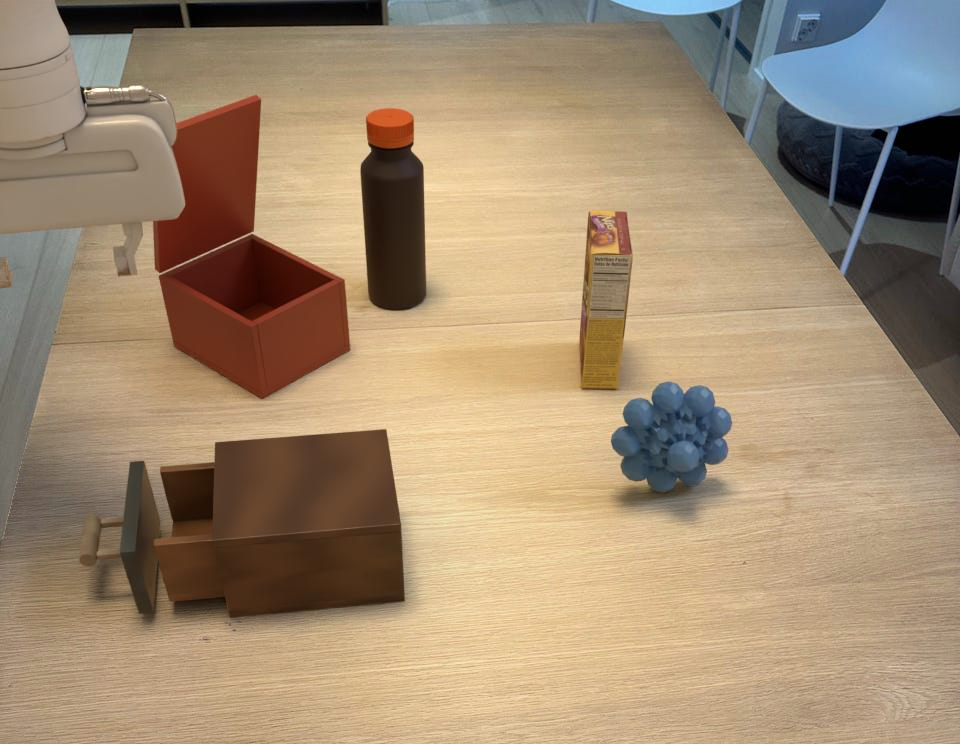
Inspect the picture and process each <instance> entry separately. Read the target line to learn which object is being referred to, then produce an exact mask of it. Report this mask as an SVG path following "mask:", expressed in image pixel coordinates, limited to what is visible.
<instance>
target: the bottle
mask: <svg viewBox="0 0 960 744" xmlns="http://www.w3.org/2000/svg"><path fill="white" fill-rule="evenodd" d="M365 125H366V126H365V127H366V140H367V145H368V147H369V148H370V153H368V155H367V156H366V157H365V158H364V159H363V161H362V162H361V163H360V170H359V174H360V188H361V203H362V214H363V215H362V218H363V219H362V220H363V231H364V234H363V236H364V247H365V249H364V250H365V263H366V277H367V279H366V280H367V294H368V297H369V299H370V301H371V302H372V303H374V304H376V305H377V306H378V307H380V308H381V307H382V308H384V309H390V310H405V309H411V308H413V307H416V306H417V305H419V304H420V303H421V302H423V301H424V300H425V298H426V296H427V262H426V260H427V259H426V258H427V256H426V218H425V217H426V216H425V215H426V214H425V209H426V208H425V172H424V163H423V162H422V161H421V159H420V158H419V157H418V156H417V155H416V154H415V153H414V152H413V151H412V148H413V146H414V144H415V142H414V140H415V118H414V115H413V114H412V113H411V112H409V111H407V110H405V109H401V108H395V107H385V108H380V109H375V110H373V111H370V112H369V113H368V114H367V115H366V116H365Z"/></svg>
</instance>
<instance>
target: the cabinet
mask: <svg viewBox="0 0 960 744" xmlns="http://www.w3.org/2000/svg"><path fill="white" fill-rule="evenodd" d="M213 461H214V496H213V532H212V542H213V546H214V551H215V555H216V560H217V564H218V569H219V573H220V577H221V582H222V586H223V591H224V595H225V597H224V599H225V603H226V609H227V612H228V616H229V617H228V618H239V617H240V618H241V617H250V616H261V615H271V614H281V613H291V612H302V611H303V612H304V611H311V610H312V611H314V610H323V609H325V610H326V609H334V608H344V607H345V608H347V607H356V606H365V605H366V606H367V605H377V604H385V603H388V604H389V603H397V602H405V601H406V597H405V595H406V594H405V577H404V576H405V574H404V557H403V555H404V554H403V535H402V522H401V515H400V509H399V503H398V496H397V489H396V482H395V475H394V470H393V462H392V455H391V450H390V444H389V436H388V430H387V428H383V429H371V430H369V429H368V430H356V431H341V432H331V433H329V432H328V433H318V434H305V435H292V436H291V435H289V436H280V437H266V438H265V437H264V438H252V439H251V438H250V439H241V440H240V439H239V440H227V441H215V442H214V459H213Z"/></svg>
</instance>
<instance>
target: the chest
mask: <svg viewBox="0 0 960 744" xmlns="http://www.w3.org/2000/svg"><path fill="white" fill-rule="evenodd" d="M158 280H159V285H160V290H161V294H162V297H163V302H164V307H165V312H166V317H167V320H168V326H169V330H170V334H171V339H172V344H173V347H175V348H176V349H178V350H179V351H181V352H183V353H185V354H186V355H188V356H190V357H191V358H193V359H194V360H196V361H198V362H200V363H201V364H203V365H204V366H207V367H208V368H210V369H212V370H213V371H215V372H216V373H218V374H220V375H221V376H224V377H225V378H227V379H228V380H230V381H231V382H233V383H235V384H236V385H238V386H240V387H241V388H244V389H245V390H247V391H248V392H250V393H252V394H254V395H255V396H257V397H259V398H260V399H265V398H266V397H268V396H270V395H272V394H274V393H275V392H278V391H279V390H281V389H283V388H284V387H286V386H288V385H290V384H291V383H293V382H296V381H297V380H299V379H301V378H303V377H304V376H306V375H308V374H310V373H311V372H313V371H315V370H316V369H319V368H320V367H322V366H324V365H326V364H328V363H329V362H331V361H332V360H335V359H336V358H338V357H340V356H342V355H344V354H345V353H347V352H349V351H351V341H350V339H351V338H350V329H349V317H348V305H347V292H346V291H347V290H346V282H345V281H346V280H345V279H344V278H342V277H341V276H338V275H336V274H334V273H332V272H330V271H328V270H326V269H324V268H322V267H320V266H319V265H316V264H314V263H312V262H310V261H308V260H306V259H304V258H302V257H300V256H298V255H296V254H294V253H292V252H290V251H288V250H286V249H284V248H282V247H280V246H278V245H276V244H274V243H271V242H269V241H268V240H266V239H265V238H262V237H260V236H258V235H255V234H254V233H249V234H247V235H245V236H243V237H241V238H238V239H236V240H234V241H232V242H229V243H227V244H225V245H223V246H220V247H218V248H216V249H214V250H211V251H209V252H207V253H205V254H203V255H200V256H198V257H196V258H194V259H191V260H189V261H187V262H185V263H182V264H180V265H178V266H176V267H174V268H171V269H169V270H167V271H165V272H162V273H160V274H159V275H158Z"/></svg>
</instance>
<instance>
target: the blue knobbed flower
mask: <svg viewBox="0 0 960 744" xmlns="http://www.w3.org/2000/svg"><path fill="white" fill-rule="evenodd" d="M650 397H651V398H650V399H651V401H650V400H648V399H646V398H643V397H638V398H633V399H630V400H629V401H628V402H627V403H626V404H625V405H624V407H623V410H622V418H623V420H624V422H625V424H626V425H623V426H619V427H617V429H616V430H615V431H614V432H613V433H612V435H611V438H610V444H611V447H612V450H613V451H614V452H615V453H616V454H617V455H619V456H620V457H622V459H621V460H620V461H621V462H620V469H621V473H622V475H623V476H624V477H625V478H627V480H629V481H632V482H635V483H637V482H642V481H645V480H646V483H647V485H648V486H649V487H650V488H651V489H652V490H653V491H654V492H658V493H662V494H663V493H669V492H670V491H672V490H673V489H674V487H675V486H676V485H677V481H678V480H679V482H681V483H682V485H685V486H688V487H694V486H698V485H700V484H701V483H703V482H704V480H705V479H706V477H707V473H708V469H707V466H706V465H709V466H717V465H719V464H721V463H723V462H724V461H725V460H726V458H727V457H728V454H729V447H728V442H727V441H726V440H725V439H724V437H725V436H726V435H728V434H729V433H730V431H731V430H732V426H733V420H732V415H731V413H730V412H729V411H728V410H727V409H726V408H725V407H721V406H715V405H716V399H715V395H714V392H713V391H712V390H711V389H710V388H709V387H708V386H705V385H702V384H700V385H699V384H698V385H694V386H691V387H689V388H688V389H687V390H686V391H685V392H684V390H683V388H682V387H681V386H680V385H679V384H678V383H676V382H673V381H665V382H660V383H658V384H657V386H655V388H654V389H653V390H652V394H651V396H650Z"/></svg>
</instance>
